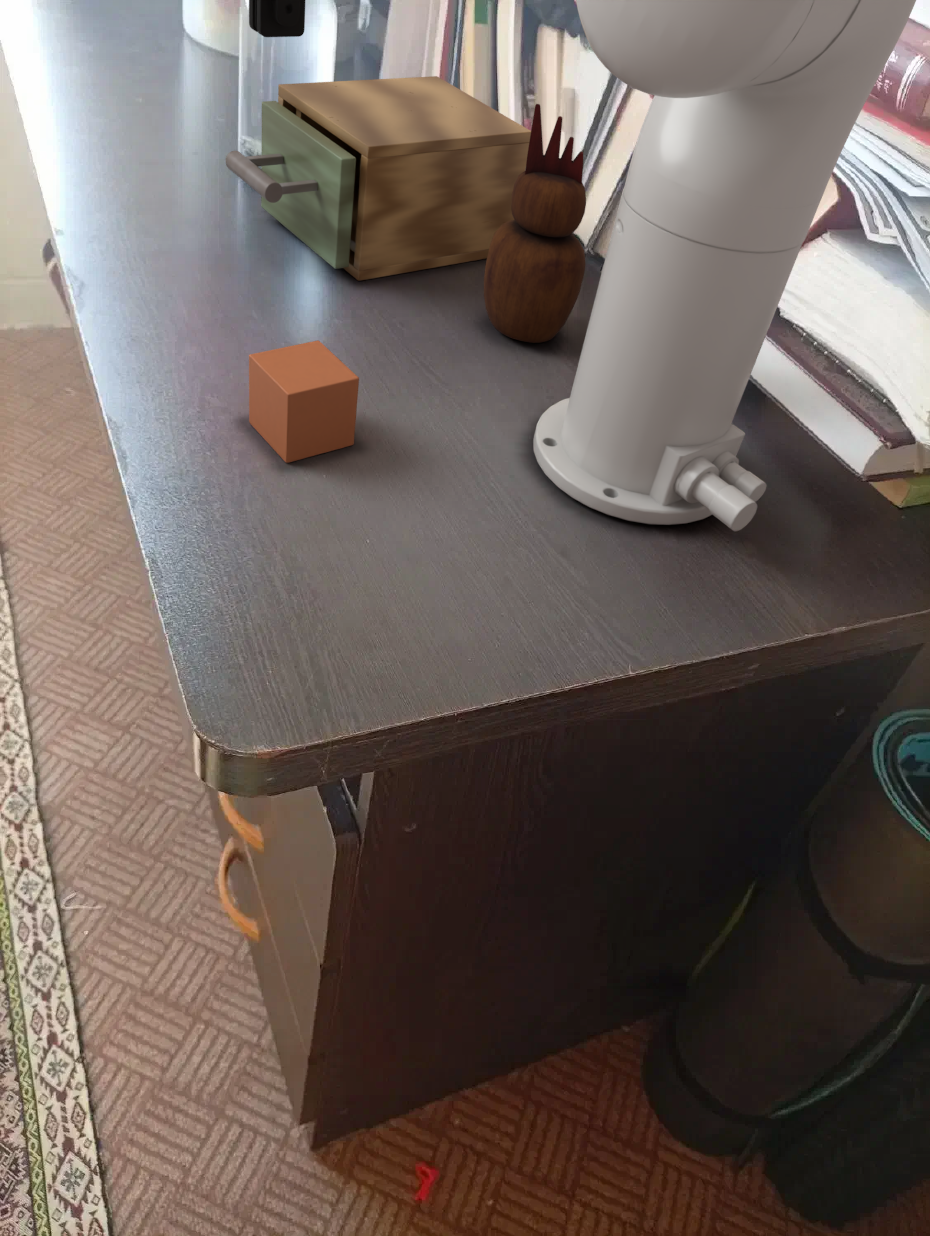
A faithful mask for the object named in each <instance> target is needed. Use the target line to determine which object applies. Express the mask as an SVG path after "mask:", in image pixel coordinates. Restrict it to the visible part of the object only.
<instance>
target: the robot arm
mask: <svg viewBox="0 0 930 1236" xmlns="http://www.w3.org/2000/svg"><path fill="white" fill-rule="evenodd" d="M916 2H917V0H575V4H576V9H577V13H578V16H579V17H578V18H579V20H580V23H581V27H582V29H583V32H584V35H585V38H586V39H587V42H588V44H589V46H590V48H591V50H592V52H593V53H594V54H595V55H596V57H597V59H598V61H600V63H601V64H602V65H603V67H605V69H607V71H609V72H610V73H611V75H613V76H614V77H616V78H617V79H618V80H619V81H620V82H622V83H624V84H625V85H627V86H629V87H631V88H632V89H635V90H637V91H639V92H642V93H643V94H644V93H645V94H648V95H652V96H653V98H652V100H651V102H650V105H649V107H648V110H647V111H646V115H645V117H644V120H643V122H642V125H641V128H640V130H639V133H638V137H637V140H636V143H635V146H634V148H633V152H632V156H631V159H630V163H629V166H628V169H627V175H626V178H625V182H624V186H623V188H622V192H621V196H620V200H619V203H618V204H619V205H618V206H617V207H618V208H617V212H616V214H615V219H614V223H613V227H612V231H611V235H610V239H609V242H608V246H607V251H606V254H605V258H604V262H603V266H602V270H601V274H600V278H599V282H598V284H597V285H598V286H597V288H596V289H597V290H596V294H595V297H594V301H593V305H592V309H591V313H590V317H589V321H588V324H587V327H586V333H585V337H584V341H583V344H582V347H581V352H580V356H579V360H578V364H577V368H576V372H575V374H574V375H575V376H574V380H573V384H572V387H571V391H570V394H569V397H567V398H564V399H562V400H560V401H558V402H555V403H553V405H551V406H549V407H548V408H547V409H546V410H545V411H544V412H543V413H542V414H541V415H540V417H539V419H538V421H537V423H536V427H535V430H534V435H533V440H532V443H533V447H532V448H533V453H534V456H535V460H536V462H537V464H538V465H539V467H540V468H541V470H542V472H543V473H544V474H545V476H546V477H548V479H549V480H550V481H551V482H552V483H553V484H554V485H555V486H556V487H557V488H558V489H560V490H561V491H563V493H565V494H566V495H568V496H569V497H571V498H572V499H574V500H576V501H578V502H579V503H581V504H583V505H584V506H586V507H588V508H589V509H592V510H595V511H598V512H600V513H602V514H605V515H607V516H611V517H614V518H617V519H621V520H624V521H628V522H634V523H640V524H645V525H659V526H660V525H661V526H662V525H663V526H671V525H682V524H688V523H693V522H698V521H701V520H704V519H706V518H708V517H711V516H713V517H715V518H716V519H718V520H719V521H720V522H721V523H723V524H724V525H725V526H726V527H728V528H729V529H730V530H731V531H733V532H738V531H741V530H742V529H744V528H745V527H746V526H748V524H749V523H750V522H751V521H752V520H753V518H754V516H755V515H756V514H757V510H758V507H759V506H758V504H757V501H759V499H760V498H762V497H763V495H764V494H765V492H766V490H767V486H768V485H767V483H766V482H765V481H764V480H762V479H761V478H759V477H758V476H756V474H754V473H753V472H751V471H750V470H746V469H745V468H744V467H743V466H741V465H740V459H739V458H738V457H737V455H738V453H739V450H740V448H741V447H742V443H743V441H744V439H745V436H746V433H745V432H744V431H743V430H742V429H740V428H739V427H738V426H736V425H735V424H734V423H733V420H734V418H735V417H736V413H737V410H738V408H739V406H740V403H741V400H742V398H743V395H744V392H745V390H746V387H747V385H748V383H749V380H750V377H751V376H752V375H751V374H752V373H753V369H754V367H755V364H756V362H757V360H758V357H759V354H760V352H761V349H762V347H763V344H764V342H765V340H766V337H767V334H768V331H769V329H770V327H771V324H772V322H773V319H774V316H775V314H776V311H777V309H778V306H779V305H780V301H781V299H782V296H783V293H784V291H785V289H786V286H787V283H788V281H789V278H790V276H791V273H792V271H793V268H794V266H795V263H796V261H797V259H798V256H799V253H800V250H801V248H802V246H803V243H804V242H805V240H806V239H807V236H808V233H809V231H810V228H811V225H812V224H813V220H814V218H815V215H816V213H817V211H818V209H819V206H820V204H821V201H822V199H823V196H824V194H825V191H826V188H827V186H828V183H829V181H830V179H831V176H832V174H833V172H834V169H835V167H836V165H837V162H838V160H839V158H840V156H841V154H842V151H843V150H844V147H845V145H846V143H847V142H848V141H847V140H848V139H849V136H850V134H851V133H852V130H853V128H854V126H855V124H856V122H857V120H858V118H859V117H860V113H861V112H862V110H863V108H864V106H865V104H866V102H867V100H868V98H869V97H870V95H871V93H872V91H873V89H874V87H875V85H876V83H877V81H878V80H879V78H880V76H881V74H882V72H883V70H884V68H885V66H886V64H887V63H888V60H889V59H890V56H891V55H892V54H893V51H894V49H895V48H896V45H897V43H898V41H899V40H900V38H901V36H902V33H903V31H904V29H905V27H906V25H907V23H908V21H909V19H910V16H911V15H912V11H913V9H914V7H915V4H916ZM248 25H249V27H250V29H252V30H253V31H254V32H256V33H258V35H260V36H262V37H263V38H296V37H301V36H303V35H304V33H305V27H306V26H305V25H306V0H248Z"/></svg>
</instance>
